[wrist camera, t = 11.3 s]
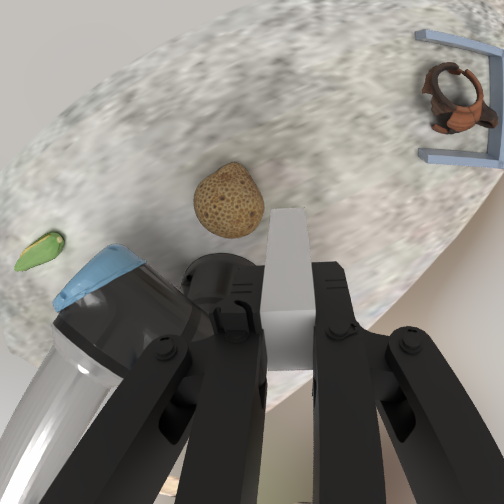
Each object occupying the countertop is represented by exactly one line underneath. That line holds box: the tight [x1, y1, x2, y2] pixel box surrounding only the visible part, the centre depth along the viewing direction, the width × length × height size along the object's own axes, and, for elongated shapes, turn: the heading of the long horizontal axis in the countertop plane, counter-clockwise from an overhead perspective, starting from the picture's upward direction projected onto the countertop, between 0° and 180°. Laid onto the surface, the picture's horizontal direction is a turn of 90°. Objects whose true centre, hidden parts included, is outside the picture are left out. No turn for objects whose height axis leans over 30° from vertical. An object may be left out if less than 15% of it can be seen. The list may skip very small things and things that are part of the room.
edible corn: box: [14, 232, 64, 272], centre depth 52 cm, size 5×20×5 cm
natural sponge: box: [194, 163, 264, 239], centre depth 39 cm, size 9×9×10 cm
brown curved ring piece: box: [422, 62, 499, 134], centre depth 30 cm, size 12×9×8 cm
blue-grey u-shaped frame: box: [415, 29, 504, 169], centre depth 30 cm, size 18×14×4 cm
